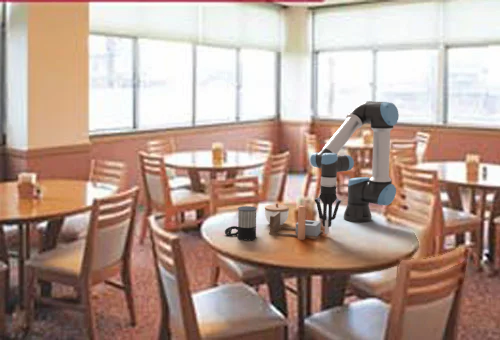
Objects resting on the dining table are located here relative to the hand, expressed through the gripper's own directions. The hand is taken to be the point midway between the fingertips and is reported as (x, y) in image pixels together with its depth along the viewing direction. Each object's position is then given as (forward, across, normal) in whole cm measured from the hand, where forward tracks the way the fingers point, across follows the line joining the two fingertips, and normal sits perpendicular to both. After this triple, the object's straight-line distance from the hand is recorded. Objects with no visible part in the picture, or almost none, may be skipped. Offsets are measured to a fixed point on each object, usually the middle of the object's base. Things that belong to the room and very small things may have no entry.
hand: (326, 233), depth 296 cm
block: (+2, +9, 0) cm, 9 cm away
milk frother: (+2, +39, +16) cm, 42 cm away
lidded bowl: (+2, +30, -16) cm, 34 cm away
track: (+2, +15, 0) cm, 15 cm away
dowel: (+2, +10, +9) cm, 14 cm away
